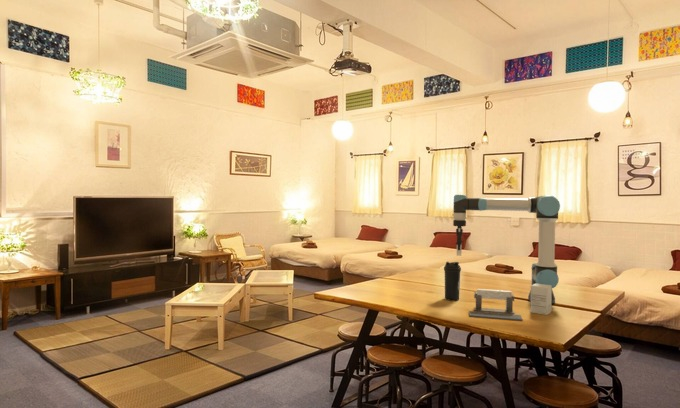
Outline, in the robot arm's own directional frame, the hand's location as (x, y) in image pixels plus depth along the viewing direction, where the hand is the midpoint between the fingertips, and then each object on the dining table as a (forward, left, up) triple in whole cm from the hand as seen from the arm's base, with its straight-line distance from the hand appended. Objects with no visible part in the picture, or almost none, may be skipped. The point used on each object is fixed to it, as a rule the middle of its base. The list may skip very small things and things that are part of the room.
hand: (459, 254), depth 271 cm
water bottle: (+4, 0, -28) cm, 28 cm away
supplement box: (-44, +17, -28) cm, 55 cm away
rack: (-19, +23, -28) cm, 41 cm away
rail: (-19, +23, -21) cm, 36 cm away
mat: (-19, +35, -28) cm, 49 cm away
